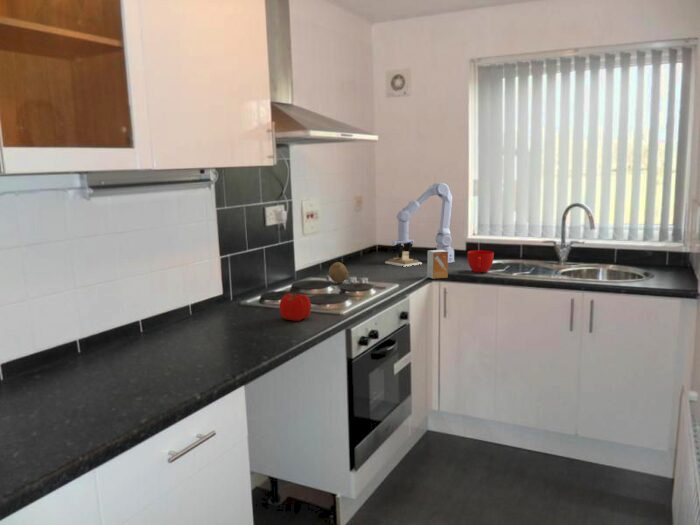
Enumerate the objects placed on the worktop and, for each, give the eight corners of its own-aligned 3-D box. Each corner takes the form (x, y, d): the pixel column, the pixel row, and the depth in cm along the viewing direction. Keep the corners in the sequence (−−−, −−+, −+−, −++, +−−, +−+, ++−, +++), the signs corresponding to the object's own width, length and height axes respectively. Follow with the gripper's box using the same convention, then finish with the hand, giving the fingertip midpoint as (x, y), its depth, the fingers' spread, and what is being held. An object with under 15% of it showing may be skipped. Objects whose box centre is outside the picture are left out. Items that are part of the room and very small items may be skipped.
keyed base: (422, 264, 317) (422, 260, 316) (404, 266, 309) (404, 262, 309) (402, 260, 329) (402, 256, 329) (385, 263, 322) (385, 259, 321)
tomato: (317, 318, 207) (317, 293, 206) (293, 325, 199) (292, 299, 197) (297, 313, 214) (296, 289, 213) (272, 320, 206) (271, 295, 204)
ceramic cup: (465, 275, 284) (465, 254, 282) (468, 269, 300) (468, 250, 298) (492, 276, 280) (492, 255, 279) (493, 270, 296) (494, 250, 295)
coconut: (325, 282, 271) (324, 261, 269) (342, 280, 275) (341, 259, 273) (333, 285, 263) (333, 264, 261) (351, 283, 267) (350, 262, 265)
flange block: (393, 260, 322) (393, 250, 321) (401, 258, 325) (401, 249, 324) (404, 262, 314) (404, 253, 313) (413, 261, 317) (413, 252, 316)
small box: (433, 279, 275) (433, 252, 273) (426, 276, 281) (427, 250, 279) (448, 277, 278) (448, 251, 276) (441, 275, 284) (442, 249, 282)
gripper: (408, 230, 324) (408, 254, 326) (388, 232, 315) (388, 257, 318) (416, 231, 318) (416, 256, 321) (397, 234, 310) (397, 258, 312)
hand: (403, 256), depth 319 cm, fingers closed on flange block, 4 cm apart
